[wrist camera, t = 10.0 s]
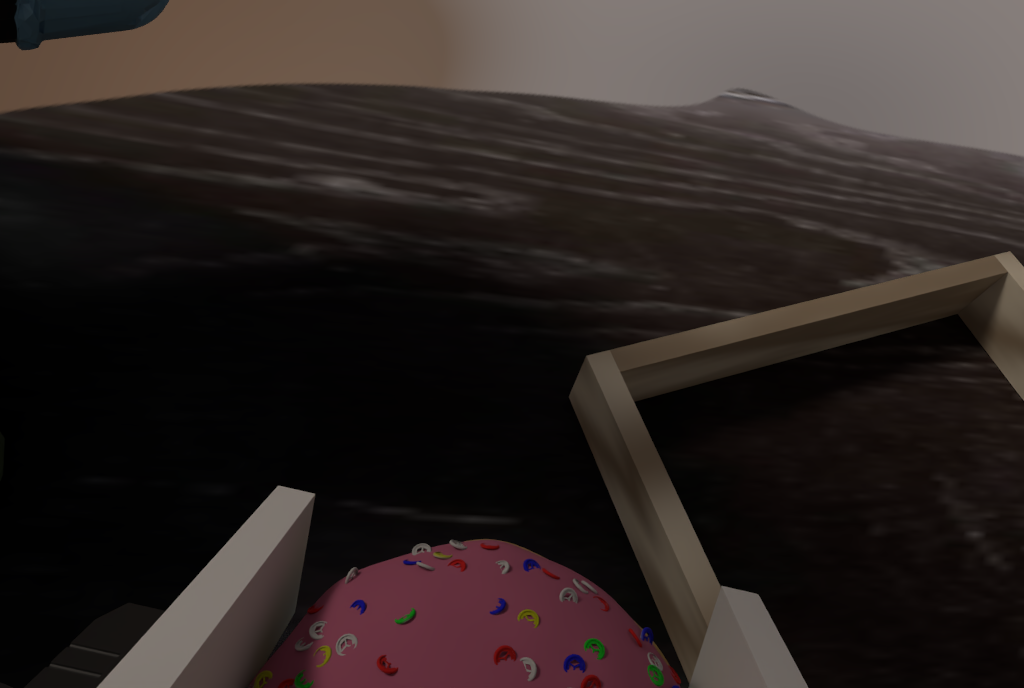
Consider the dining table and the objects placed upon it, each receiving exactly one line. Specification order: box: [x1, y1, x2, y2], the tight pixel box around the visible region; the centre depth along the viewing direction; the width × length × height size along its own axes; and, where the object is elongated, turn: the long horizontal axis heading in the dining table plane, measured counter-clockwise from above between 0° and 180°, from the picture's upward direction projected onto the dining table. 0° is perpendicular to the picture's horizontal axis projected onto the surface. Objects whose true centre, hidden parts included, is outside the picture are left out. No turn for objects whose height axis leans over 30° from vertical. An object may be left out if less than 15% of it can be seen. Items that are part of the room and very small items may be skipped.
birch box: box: [569, 252, 1024, 684], centre depth 26 cm, size 22×22×4 cm
